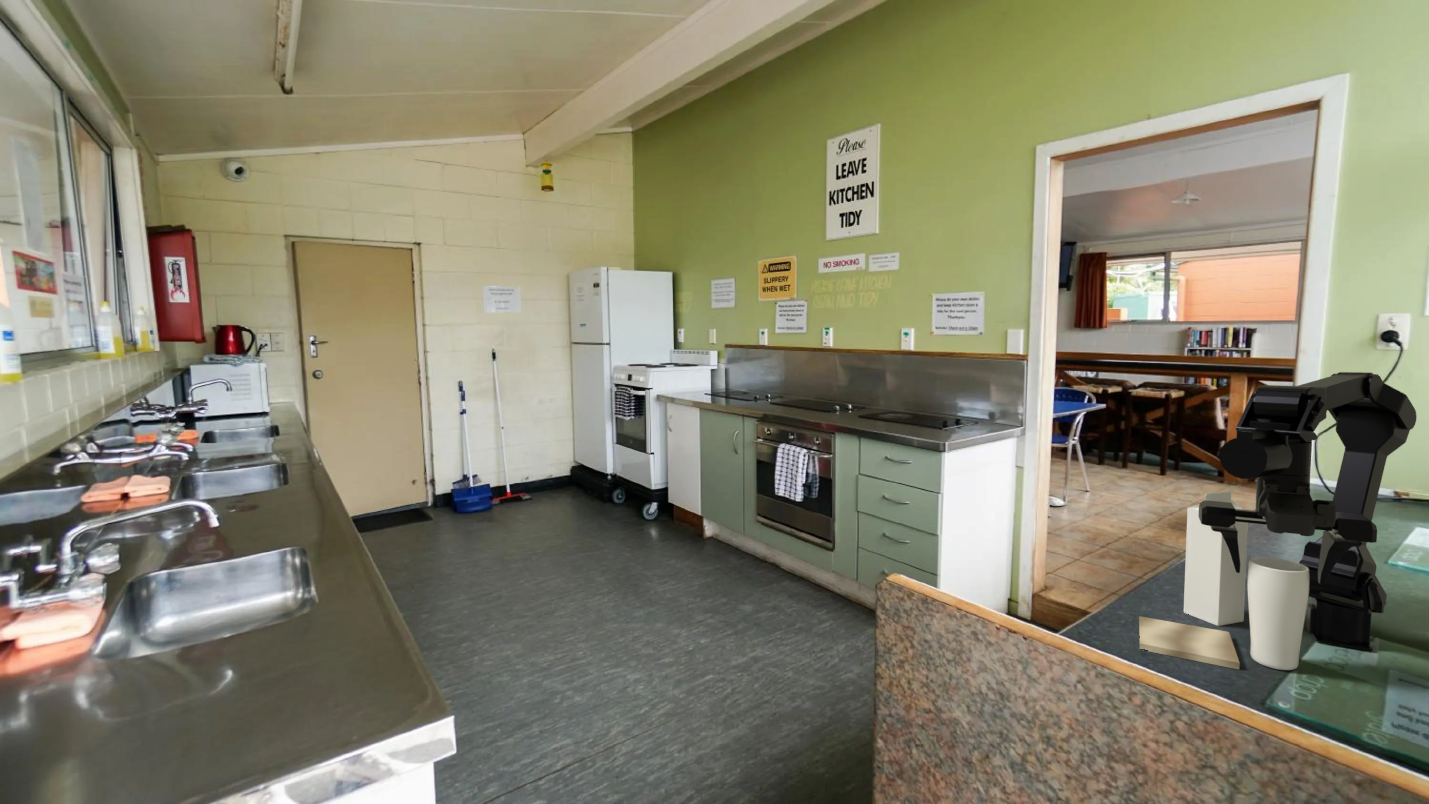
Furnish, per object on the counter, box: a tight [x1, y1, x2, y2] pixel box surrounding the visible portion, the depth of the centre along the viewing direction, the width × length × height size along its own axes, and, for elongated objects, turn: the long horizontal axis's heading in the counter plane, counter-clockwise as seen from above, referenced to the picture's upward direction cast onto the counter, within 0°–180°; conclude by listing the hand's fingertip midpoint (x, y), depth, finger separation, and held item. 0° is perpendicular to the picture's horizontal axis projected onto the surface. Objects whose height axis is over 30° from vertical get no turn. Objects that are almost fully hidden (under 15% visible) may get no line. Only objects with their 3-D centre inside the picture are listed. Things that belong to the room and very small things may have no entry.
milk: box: [1183, 490, 1249, 627], centre depth 109 cm, size 6×6×22 cm
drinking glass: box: [1246, 556, 1310, 671], centre depth 93 cm, size 7×7×15 cm
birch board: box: [1138, 616, 1241, 670], centre depth 100 cm, size 12×12×1 cm
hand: (1278, 577), depth 92 cm, fingers open, 9 cm apart
